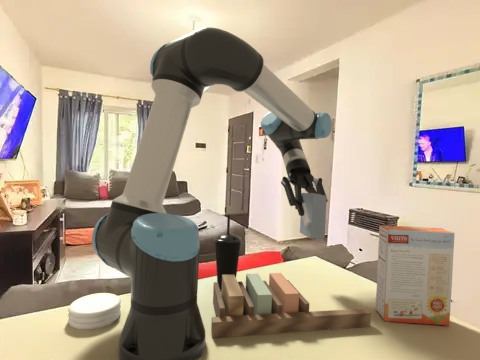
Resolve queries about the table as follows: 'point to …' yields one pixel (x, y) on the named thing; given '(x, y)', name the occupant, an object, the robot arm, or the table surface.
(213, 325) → the rack
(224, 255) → the drinking cup
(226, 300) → the oak offcut
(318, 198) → the slate blue block
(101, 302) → the white disc stack
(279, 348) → the table surface
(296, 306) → the terracotta offcut
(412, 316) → the cracker box
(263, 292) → the sage offcut
